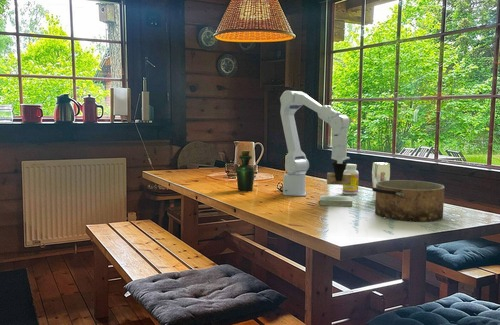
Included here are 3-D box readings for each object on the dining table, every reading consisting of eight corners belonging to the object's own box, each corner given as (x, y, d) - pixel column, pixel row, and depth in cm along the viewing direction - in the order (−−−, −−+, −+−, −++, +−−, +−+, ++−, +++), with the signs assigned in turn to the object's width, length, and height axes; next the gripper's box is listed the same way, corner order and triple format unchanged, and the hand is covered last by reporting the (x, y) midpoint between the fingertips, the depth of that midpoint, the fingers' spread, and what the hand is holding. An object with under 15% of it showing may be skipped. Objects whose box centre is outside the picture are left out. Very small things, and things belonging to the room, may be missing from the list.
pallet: (327, 184, 187) (327, 174, 186) (326, 182, 192) (327, 172, 191) (350, 185, 186) (350, 174, 185) (349, 183, 190) (349, 173, 190)
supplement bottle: (358, 195, 203) (359, 165, 202) (342, 194, 204) (343, 164, 203) (357, 192, 210) (358, 163, 208) (342, 192, 211) (343, 163, 210)
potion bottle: (244, 192, 206) (244, 151, 204) (232, 190, 212) (232, 150, 210) (258, 191, 211) (258, 150, 209) (246, 188, 217) (246, 149, 215)
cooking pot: (403, 226, 148) (404, 192, 147) (353, 213, 167) (354, 183, 166) (464, 217, 163) (466, 186, 162) (412, 205, 182) (413, 178, 181)
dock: (320, 205, 180) (320, 199, 180) (320, 200, 190) (320, 195, 190) (352, 206, 179) (352, 201, 178) (350, 201, 188) (350, 196, 188)
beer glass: (379, 202, 188) (380, 164, 186) (367, 199, 194) (368, 162, 192) (392, 200, 191) (394, 163, 190) (380, 197, 197) (381, 162, 196)
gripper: (351, 147, 179) (349, 182, 181) (348, 144, 194) (347, 177, 195) (332, 146, 180) (331, 182, 182) (331, 144, 195) (330, 177, 196)
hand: (338, 180), depth 188 cm, fingers closed on pallet, 5 cm apart
